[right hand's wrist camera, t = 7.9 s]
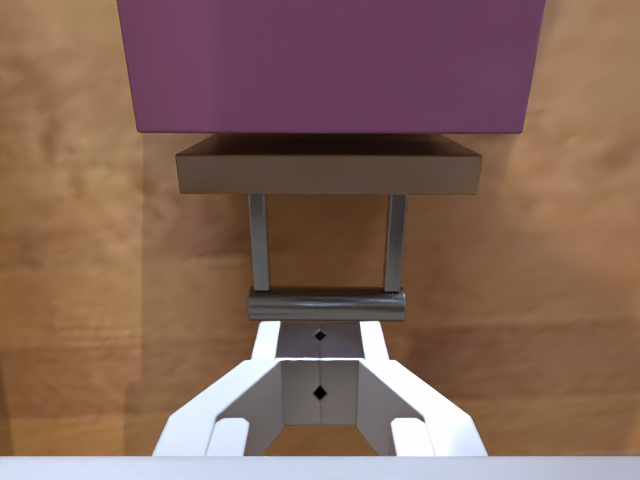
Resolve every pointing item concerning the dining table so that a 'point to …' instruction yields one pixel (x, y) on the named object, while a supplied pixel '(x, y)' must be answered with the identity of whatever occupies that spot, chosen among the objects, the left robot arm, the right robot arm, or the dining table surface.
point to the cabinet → (330, 65)
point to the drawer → (328, 178)
